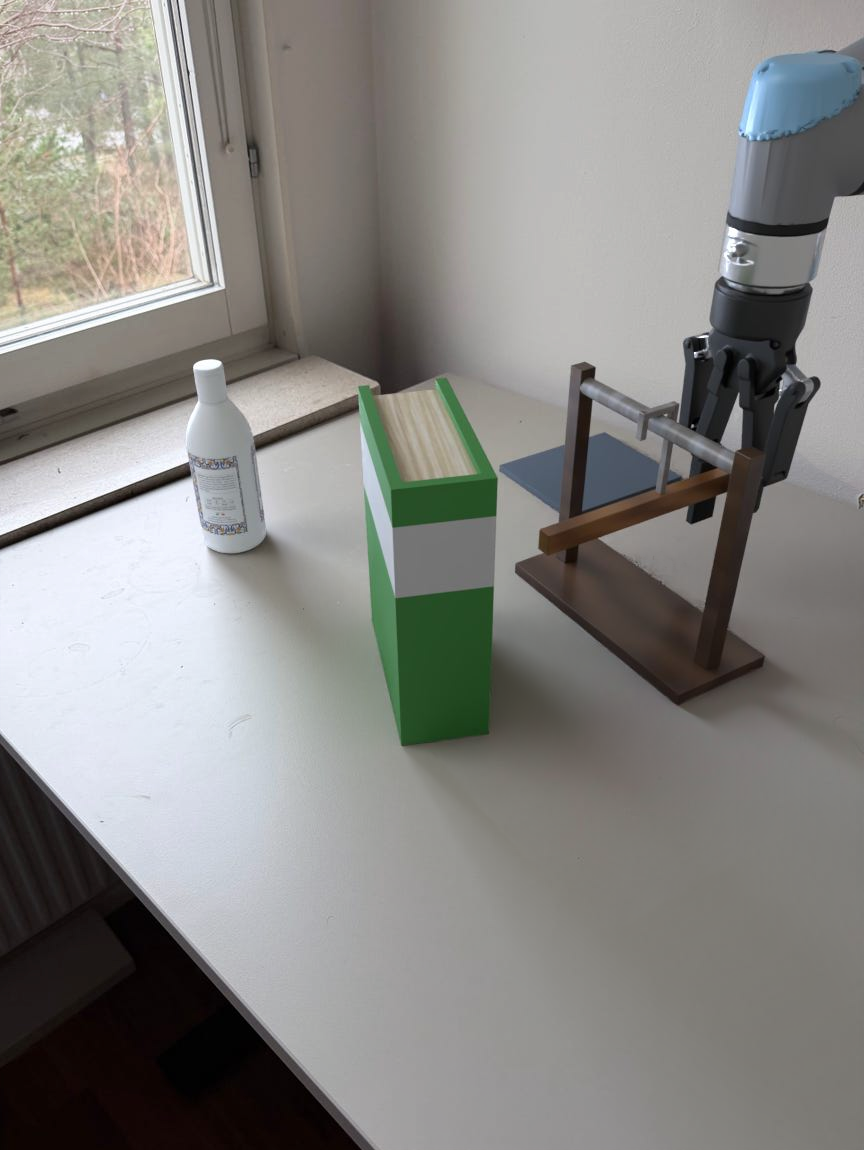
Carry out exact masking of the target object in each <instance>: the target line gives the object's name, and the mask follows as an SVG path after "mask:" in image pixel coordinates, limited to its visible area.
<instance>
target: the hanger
mask: <svg viewBox="0 0 864 1150" xmlns="http://www.w3.org/2000/svg"><path fill="white" fill-rule="evenodd" d="M680 406H681V403H679V402H677V401H675V400H673V401H670V402H667V403H666V402H665V403H663V404H660V405H657V406H654V407H653V406H652V407H649V408H650V409H646V410H643V411H640V412H639V416H638V423H636V431H635V439H636V440H638V441H640V442H642V441H645V440H647V435H648V429H647V428H648V421H649V419H651V418H655V417H658V416H661V415H664V416H665V415H666V417H668V418H670V419H672V420H674V421H676V422H678V418H679V412H680ZM662 439H663V440H662V445H661V453H660V459H659V464H660V465H659V471H658V478H657V484H656V489H655V490H652V491H649V492H647V493H644V494H641V495H638V496H635V497H632V498H629V499H626V500H623V501H620V502H617V503H614V504H611V505H609V506H606V507H603V508H600V509H597V510H594V511H591V512H588V513H585V514H582V515H579V516H576V517H573V518H571V519H568V520H565V521H562V522H559V521H558V522H556V523H554V524H553V523H552V524H551V525H547V526H544V527H542V528H540V529H539V531H538V532H539V533H538V550H539V551H540V552H542V553H545V554H546V555H547V556H549V555H552V554H554V553H557V552H560V551H563V550H566V549H569V548H571V547H574V546H577V545H580V544H583V543H585V542H588V541H591V540H594V539H597V538H598V539H600V538H602V537H605V536H608V535H610V534H613V533H616V532H619V531H621V530H622V531H623V530H624V529H627V528H631V527H633V526H635V525H639V524H641V523H645V522H647V521H650V520H652V519H655V518H659V517H661V516H665V515H666V514H670V513H673V512H675V511H678V510H680V509H684V508H688V506H689V505H692V504H695V503H698V502H701V501H703V500H706V499H709V498H712V497H715V496H716V497H717V496H720V495H723V494H727V490H728V485H729V480H730V474H728V473H726V472H724V471H723V470H721V469H719V468H717V469H714V470H711V471H708V472H705V473H702V474H699V475H696V476H693V477H690V478H689V477H688V478H685V479H681V481H679V482H676V483H673V484H670V485H667V480H668V473H669V469H670V467H671V461H672V454H673V447H674V444H673V443H671V442H670V441H668V440H666V439H664V438H662Z"/></svg>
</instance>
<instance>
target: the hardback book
mask: <svg viewBox="0 0 864 1150" xmlns="http://www.w3.org/2000/svg"><path fill="white" fill-rule="evenodd" d="M357 395H358V396H357V397H358V398H357V399H358V412H359V413H358V414H359V429H360V430H359V431H360V447H361V463H362V478H363V479H362V481H363V494H364V495H363V496H364V509H365V511H364V512H365V527H366V528H365V530H366V543H367V544H366V545H367V559H368V560H367V561H368V579H369V593H370V594H369V596H370V611H371V612H370V613H371V623H372V628H373V631H374V635H375V636H374V637H375V640H376V644H377V648H378V652H379V657H380V660H381V665H382V670H383V673H384V678H385V682H386V686H387V691H388V695H389V699H390V703H391V708H392V713H393V716H394V721H395V724H396V729H397V733H398V737H399V738H398V739H399V741H400V745H401V746H409V745H417V744H424V743H431V742H439V741H445V740H447V741H448V740H454V739H463V738H468V737H476V736H482V735H489V734H490V711H491V683H492V654H493V653H492V652H493V626H494V625H493V624H494V600H495V599H494V597H495V596H494V595H495V571H496V568H495V567H496V544H497V543H496V542H497V541H496V540H497V539H496V538H497V514H498V511H497V510H498V484H499V482H498V481H499V478H498V476H497V473H496V471H495V469H494V468H493V465H492V464H491V462H490V459H489V458H488V456H487V454H486V452H485V449H484V448H483V445H482V444H481V442H480V440H479V439H478V437H477V435H476V432H475V430H474V428H473V427H472V424H471V422H470V420H469V419H468V417H467V414H466V412H465V411H464V408H463V407H462V405H461V403H460V400H459V399H458V397H457V394H456V393H455V391H454V389H453V387H452V385H451V383H450V382H449V379H448V378H447V377H438V378H435V388H434V389H425V390H415V391H406V392H396V393H395V392H394V393H387V394H386V393H385V394H376V395H373V392H372V390H371V388H370V384H366V385H358V386H357Z"/></svg>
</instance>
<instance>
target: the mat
mask: <svg viewBox="0 0 864 1150" xmlns="http://www.w3.org/2000/svg"><path fill="white" fill-rule="evenodd" d="M564 448H565V444H562V445H559V446H556V447H553V448H549V449H547V450H543V451H540V452H537V453H533V454H531V455H527V456H524V457H521V458H518V459H517V458H516V459H514V460H512V461H508V462H505V463H502V464H499V465H498V467H499V468H498V470H499V472H500V473H502V474H503V475H505V476H506V477H508V478H509V479H510V480H512V481H513V482H514V483H516V484H518V485H519V486H520V487H522V488H523V489H524V490H526V491H528V492H529V493H530V494H531V495H533V496H534V497H536V498H538V499H539V500H540V501H541V502H543V503H544V504H546V505H547V506H549V507H550V508H552V509H553V510H555V511H556V512H557V513H559V511H560V498H561V486H562V473H563V461H564ZM659 465H660V462H657V461H656V460H655V459H652V458H651V457H649V456H648V455H645V454H644V453H642V452H640V451H638V450H637V449H635V448H634V447H631V446H630V445H628V444H627V443H625V442H623V441H622V440H619V439H618V438H616V437H614V436H612V435H611V434H608V433H607V432H606V431H604V432H601V433H597V434H594V435H591V436H589V444H588V455H587V465H586V476H585V486H584V496H583V507H582V514H585V513H588V512H591V511H594V510H597V509H600V508H603V507H606V506H609V505H611V504H614V503H617V502H620V501H623V500H626V499H629V498H632V497H635V496H638V495H641V494H644V493H647V492H649V491H652V490H655V489H656V484H657V478H658V471H659ZM682 480H683V476H682V475H680V474H678V473H676V472H675V471H673V470H671V469H670V468H669V473H668V480H667V485H670V484H673V483H676V482H679V481H682Z"/></svg>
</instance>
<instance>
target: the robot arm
mask: <svg viewBox="0 0 864 1150" xmlns="http://www.w3.org/2000/svg"><path fill="white" fill-rule="evenodd" d="M737 134H738V135H737V136H738V142H737V148H736V156H735V163H734V168H733V174H732V181H731V186H730V187H731V188H730V192H729V193H730V194H729V201H728V206H727V213H726V219H725V224H724V230H723V236H722V242H721V247H720V248H721V249H720V255H719V262H718V268H717V272H718V274H719V275H720V277H719V278H718V279H717V280H716V281H715V283H714V288H713V294H712V298H711V299H712V300H711V305H710V312H709V324H710V326H711V327H712V328H711V330H710V331H706V332H703V333H698V334H696V335H692V336H689V337H686V338H684V339H683V341H682V348H683V356H684V357H683V358H684V364H685V365H684V372H683V373H684V375H683V382H682V391H681V400H680V407H679V415H678V423H680V424H681V425H683V426H685V427H687V428H689V429H691V430H693V431H695V432H697V433H699V434H701V435H703V436H704V437H706V438H708V439H710V440H712V441H714V442H716V443H718V444H720V445H722V446H723V444H722V443H721V442H722V440H723V437H724V434H725V431H726V429H727V426H728V424H729V420H730V418H731V415H732V413H733V409H734V407H735V404H736V401H737V398H738V406H739V408H741V410H742V419H741V420H742V422H741V423H742V424H741V447H740V449H742V448H745V447H748V446H752V447H754V448H756V449H758V450H760V451H762V452H764V453H766V457H765V462H764V466H763V471H762V475H761V480H760V484H759V489H758V493H757V498H756V503H755V507H754V512H753V514H755V513H757V512H758V510H759V509H760V506H761V501H762V497H763V493H764V488H766V487H768V486H772V485H773V484H777V483H779V482H783V481H785V480H786V479H788V477H789V473H790V470H791V466H792V464H793V463H792V462H793V459H794V456H795V452H796V449H797V446H798V442H799V439H800V435H801V432H802V428H803V425H804V421H805V418H806V414H807V411H808V408H809V404H810V402H811V401H812V400H813V398H814V397H815V396H816V395H817V393H818V392H819V391H820V388H821V386H822V385H821V384H822V382H821V379H820V378H819V377H818V376H817V375H813V376H809V377H807V375H805V374H804V372H803V371H802V370H801V369H800V368H798V366H797V363H798V356H797V351H796V350H797V349H796V343H797V341H798V339H799V337H800V335H801V333H802V332H803V330H804V328H805V326H806V322H807V318H808V313H809V309H810V304H811V300H812V295H813V291H814V289H813V287H812V285H811V282H812V281H814V280H815V279H816V278H817V275H818V272H819V268H820V263H821V257H822V253H823V248H824V244H825V239H826V234H827V229H828V226H829V221H830V216H831V213H832V209H833V205H834V202H835V198H840V197H842V198H843V197H855V196H864V36H863V37H860V39H858V40H856V41H854V42H852V43H851V44H849V45H847V46H846V47H843V48H842V49H840V50H834V49H821V50H811V51H808V52H804V53H803V52H802V53H786V54H780V55H775V56H771V57H768V58H766V59H765V60H763V61H762V62H761V63H760V64H758V65H757V66H756V67H755V69H754V71H753V73H752V76H751V78H750V83H749V87H748V89H747V93H746V97H745V102H744V106H743V110H742V115H741V119H740V122H739V125H738V131H737ZM781 381H782V387H781ZM780 387H781V388H780ZM689 454H690V456H691V462H690V468H689V474H688V478H690V477H693V476H696V475H699V474H702V473H705V472H708V471H711V470H714V469H717V467H715V466H714V465H712V464H710V463H708V462H706V461H704V460H703V459H701V458H699V457H697V456H695V455H693V454H692V453H690V452H689ZM716 500H717V496H715V497H712V498H709V499H706V500H703V501H701V502H698V503H695V504H692V505H689V506H687V511H686V518H685V522H686V523H688V524H689V525H690V526H691V525H694V524H697V523H700V522H702V521H705V520H708V519H710V518H711V519H712V518H713V517H714V510H715V505H716Z"/></svg>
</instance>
